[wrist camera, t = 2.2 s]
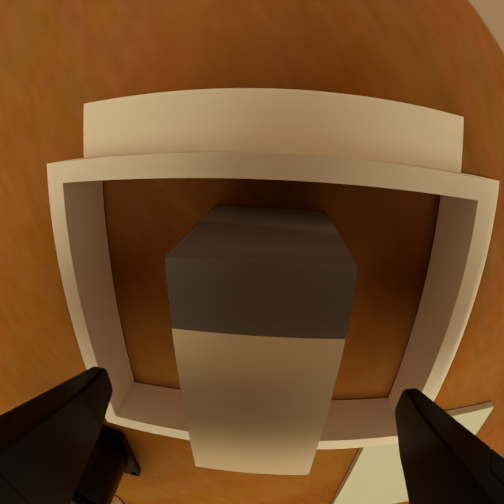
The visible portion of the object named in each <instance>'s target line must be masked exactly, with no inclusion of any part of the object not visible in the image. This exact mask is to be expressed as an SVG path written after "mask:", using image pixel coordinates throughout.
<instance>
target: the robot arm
mask: <svg viewBox="0 0 504 504" xmlns="http://www.w3.org/2000/svg"><path fill="white" fill-rule="evenodd" d="M112 392H113V389H112V384H111V381H110V378H109V375H108V372H107V370H106V369H105V368H101V367H97V366H94V367H91V368H90V369H88V370H86V371H84V372H82V373H80V374H78V375H77V376H75V377H73V378H71V379H69V380H67V381H65V382H64V383H62V384H60V385H58V386H56V387H54V388H52V389H50V390H48V391H47V392H45V393H43V394H41V395H39V396H37V397H35V398H33V399H31V400H29V401H27V402H26V403H24V404H22V405H20V406H18V407H16V408H14V409H12V410H11V411H8V412H6V413H4V414H2V415H0V504H111V502H112V500H113V497H114V495H115V493H116V490H117V488H118V485H119V483H120V481H121V478H122V476H123V474H124V473H127V474H131V475H134V476H139V475H140V473H141V471H140V469H139V467H138V465H137V463H136V461H135V459H134V457H133V454H132V452H131V450H130V448H129V446H128V443H127V441H126V439H125V436H124V435H123V434H122V433H121V432H119V431H116V430H112V429H109V428H105V427H102V424H103V421H104V418H105V415H106V411H107V408H108V405H109V402H110V399H111V396H112ZM395 419H396V427H397V435H398V445H399V453H400V459H401V464H402V469H403V473H404V478H405V483H406V488H407V494H408V499H409V504H504V458H503V457H501V456H500V455H499V454H498V453H496V452H495V451H494V450H493V449H490V447H489V446H488V445H486V444H485V443H484V442H483V441H481V440H480V439H479V438H478V437H476V436H475V435H474V434H473V433H471V432H470V431H469V430H468V429H467V428H465V427H464V426H463V425H462V424H460V423H459V422H458V421H457V420H455V419H454V418H453V417H452V416H451V415H449V414H448V413H447V412H446V411H444V410H443V409H442V408H441V407H439V406H438V405H437V404H436V403H435V402H433V401H432V400H431V399H430V398H428V397H427V396H426V395H425V394H423V393H422V392H421V391H420V390H418V389H417V388H410V389H405V390H403V392H402V394H401V396H400V399H399V401H398V403H397V405H396V408H395Z"/></svg>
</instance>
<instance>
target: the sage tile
mask: <svg viewBox="0 0 504 504" xmlns="http://www.w3.org/2000/svg"><path fill="white" fill-rule="evenodd" d="M493 407H494V406H493V404H492V402H491V401H490V402H486V403H482V404H477V405H473V406H468V407H463V408H458V409H453V410H447V411H446V412H447V413H448V414H449V415H451V416H452V417H453V418H454V419H455V420H457V421H458V422H459V423H460V424H462V425H463V426H464V427H465V428H467V429H468V430H469V431H470V432H471V433H473V434H474V435H476V433H477V432H478V430H479V429H480V427H481V426H482V424H483V423H484V421H485V420H486V418H487V417H488V415H489V414H490V412H491V410H492V409H493ZM405 501H409V499H408V494H407V488H406V483H405V478H404V473H403V469H402V464H401V459H400V453H399V445H398V444H391V445H382V446H372V447H360V448H359V449H358V452H357V454H356V456H355V458H354V460H353V462H352V464H351V466H350V468H349V470H348V472H347V474H346V476H345V477H344V479H343V481H342V483H341V485H340V487H339V489H338V490H337V492H336V494H335V496H334V498H333V499H332V501H331V503H330V504H394V503H400V502H405Z"/></svg>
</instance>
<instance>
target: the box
mask: <svg viewBox="0 0 504 504" xmlns="http://www.w3.org/2000/svg"><path fill="white" fill-rule="evenodd" d="M358 268H359V266H358V265H357V263H356V261H355V260H354V258H353V256H352V254H351V253H350V251H349V249H348V248H347V246H346V244H345V243H344V241H343V240H342V238H341V236H340V235H339V233H338V231H337V230H336V228H335V227H334V225H333V223H332V222H331V220H330V219H329V217H328V215H327V214H326V212H325V211H319V210H302V209H283V208H261V207H235V206H214V207H213V208H212V209H211V210H210V211H209V212H208V213H207V214H206V215H205V216H204V217H203V218H202V219H201V220H200V221H199V222H198V223H197V224H196V225H195V226H194V227H193V228H192V229H191V230H190V231H189V232H188V233H187V234H186V235H185V236H184V237H183V238H182V239H181V240H180V241H179V242H178V243H177V244H176V245H175V246H174V247H173V248H172V249H171V250H170V252H169V253H168V254H167V255H166V256H165V269H166V280H167V291H168V301H169V310H170V319H171V327H172V335H173V343H174V350H175V357H176V364H177V371H178V377H179V383H180V389H181V395H182V401H183V407H184V412H185V418H186V423H187V428H188V433H189V438H190V443H191V448H192V452H193V457H194V461H195V466H197V467H203V468H210V469H217V470H226V471H235V472H246V473H259V474H279V475H308V474H309V471H310V469H311V466H312V463H313V460H314V456H315V453H316V450H317V447H318V444H319V441H320V437H321V434H322V431H323V427H324V424H325V420H326V417H327V413H328V410H329V406H330V402H331V399H332V395H333V391H334V387H335V383H336V379H337V375H338V371H339V367H340V362H341V358H342V354H343V349H344V345H345V340H346V335H347V330H348V325H349V320H350V315H351V310H352V304H353V299H354V293H355V287H356V281H357V275H358Z"/></svg>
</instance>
